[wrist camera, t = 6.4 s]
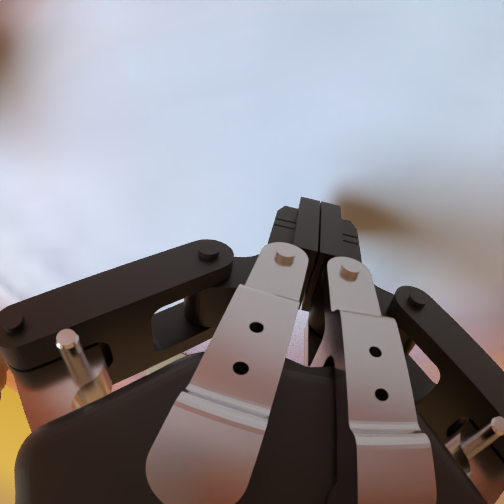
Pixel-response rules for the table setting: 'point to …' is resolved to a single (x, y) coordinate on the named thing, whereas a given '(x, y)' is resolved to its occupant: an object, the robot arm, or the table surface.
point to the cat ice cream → (2, 373)
